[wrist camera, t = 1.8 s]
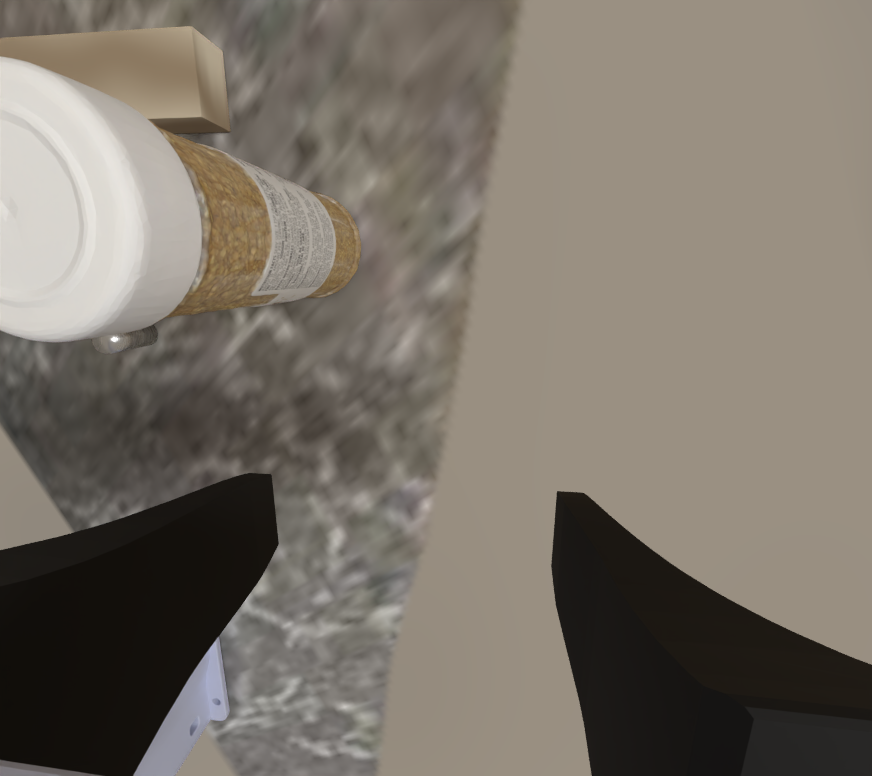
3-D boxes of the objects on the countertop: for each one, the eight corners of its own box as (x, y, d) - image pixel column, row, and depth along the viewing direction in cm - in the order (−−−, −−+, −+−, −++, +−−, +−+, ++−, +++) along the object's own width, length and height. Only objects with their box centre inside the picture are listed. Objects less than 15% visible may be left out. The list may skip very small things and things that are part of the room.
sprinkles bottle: (257, 277, 21) (-125, 292, 8) (280, 176, 20) (-130, -2, 7) (348, 312, 21) (110, 384, 8) (378, 212, 19) (151, 103, 7)
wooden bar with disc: (248, 312, 21) (224, 317, 19) (42, 308, 23) (0, 312, 21) (222, 50, 19) (191, 26, 17) (-11, 63, 20) (-65, 41, 18)
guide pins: (159, 345, 22) (118, 354, 20) (63, 342, 23) (13, 351, 21) (126, 135, 20) (76, 117, 18) (21, 138, 21) (-42, 121, 18)
